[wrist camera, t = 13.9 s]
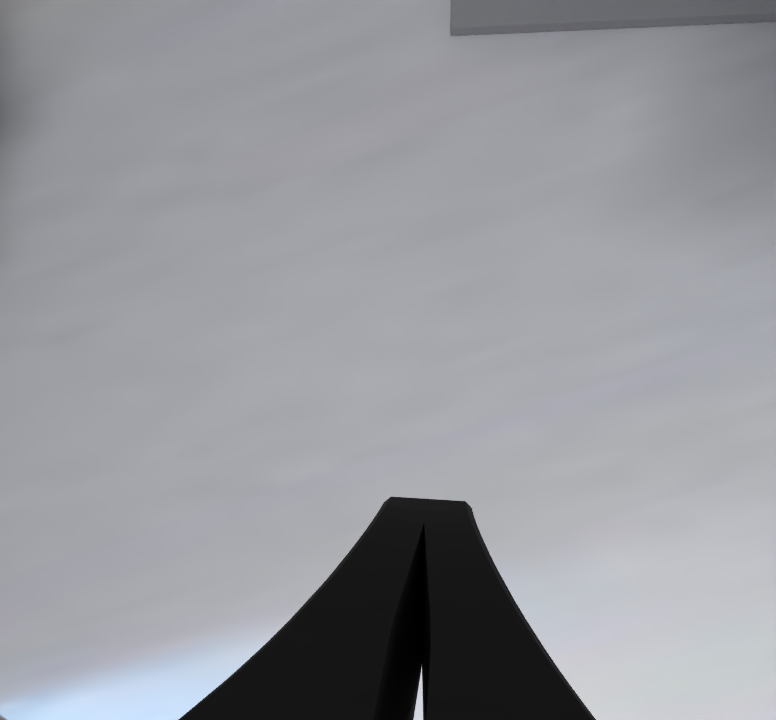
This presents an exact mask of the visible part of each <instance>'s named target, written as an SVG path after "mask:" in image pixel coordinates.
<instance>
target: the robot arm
mask: <svg viewBox="0 0 776 720" xmlns="http://www.w3.org/2000/svg"><path fill="white" fill-rule="evenodd" d="M421 667H422V680H423V720H596V719H595V718H594V717H593V715H592V714H591V713H590V711H589V710H588V709H587V707H586V706H585V705H584V703H583V702H582V701H581V699H580V698H579V697H578V695H577V694H576V693H575V691H574V690H573V689H572V687H571V686H570V685H569V683H568V682H567V680H566V679H565V678H564V676H563V675H562V673H561V672H560V671H559V669H558V668H557V666H556V665H555V663H554V662H553V660H552V659H551V657H550V656H549V654H548V653H547V652H546V650H545V649H544V647H543V645H542V644H541V642H540V641H539V639H538V638H537V636H536V635H535V633H534V631H533V630H532V628H531V627H530V625H529V624H528V622H527V620H526V619H525V617H524V616H523V614H522V612H521V611H520V609H519V607H518V606H517V604H516V602H515V601H514V599H513V597H512V595H511V593H510V591H509V590H508V588H507V586H506V584H505V582H504V581H503V579H502V577H501V575H500V573H499V572H498V570H497V568H496V566H495V564H494V562H493V560H492V558H491V556H490V554H489V552H488V550H487V547H486V545H485V543H484V541H483V539H482V536H481V534H480V532H479V529H478V527H477V524H476V521H475V518H474V515H473V512H472V508H471V507H470V506H469V505H468V504H467V503H466V502H465V501H450V500H434V499H418V498H402V497H390V498H389V499H388V500H387V501H385V502H384V504H383V505H382V507H381V509H380V510H379V512H378V513H377V515H376V516H375V518H374V519H373V521H372V522H371V524H370V525H369V526H368V528H367V529H366V531H365V532H364V533H363V535H362V536H361V537H360V539H359V540H358V541H357V543H356V544H355V545H354V547H353V548H352V549H351V550H350V552H349V553H348V554H347V555H346V557H345V558H344V559H343V560H342V562H341V563H340V564H339V565H338V566H337V568H336V569H335V570H334V571H333V573H332V574H331V575H330V576H329V577H328V579H327V580H326V581H325V582H324V583H323V584H322V585H321V587H320V588H319V589H318V590H317V591H316V592H315V593H314V594H313V595H312V596H311V597H310V599H309V600H308V601H307V602H306V603H305V604H304V605H303V606H302V607H301V608H300V609H299V611H298V612H297V613H296V614H295V615H294V616H293V617H292V618H291V619H290V620H289V621H288V622H287V623H286V624H285V625H284V626H283V627H282V628H281V629H280V630H279V631H278V632H277V633H276V634H275V635H274V636H273V637H272V638H271V639H270V640H269V641H268V642H267V643H266V644H265V645H264V646H263V647H262V648H261V649H260V650H259V651H258V652H257V653H256V654H254V655H253V656H252V657H251V658H250V659H249V660H248V661H247V662H246V663H245V664H243V665H242V666H241V667H240V668H239V669H238V670H237V671H236V672H235V673H234V674H232V675H231V676H230V677H229V678H228V679H227V680H226V681H224V682H223V683H222V684H221V685H220V686H218V687H217V688H216V689H215V690H214V691H212V692H211V693H210V694H209V695H208V696H206V697H205V698H204V699H203V700H202V701H200V702H199V703H198V704H197V705H196V706H195V707H193V708H192V709H191V710H190V711H189V712H187V713H186V714H185V715H184V716H183V717H181V718H180V719H179V720H413V718H414V711H415V705H416V699H417V692H418V686H419V680H420V673H421Z"/></svg>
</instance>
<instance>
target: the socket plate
mask: <svg viewBox="0 0 776 720" xmlns="http://www.w3.org/2000/svg"><path fill="white" fill-rule="evenodd" d="M754 22H776V0H451V20H450V33H451V36H461V35H483V34H506V33H529V32H551V31H574V30H596V29H619V28H641V27H664V26H686V25H709V24H732V23H754Z"/></svg>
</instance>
